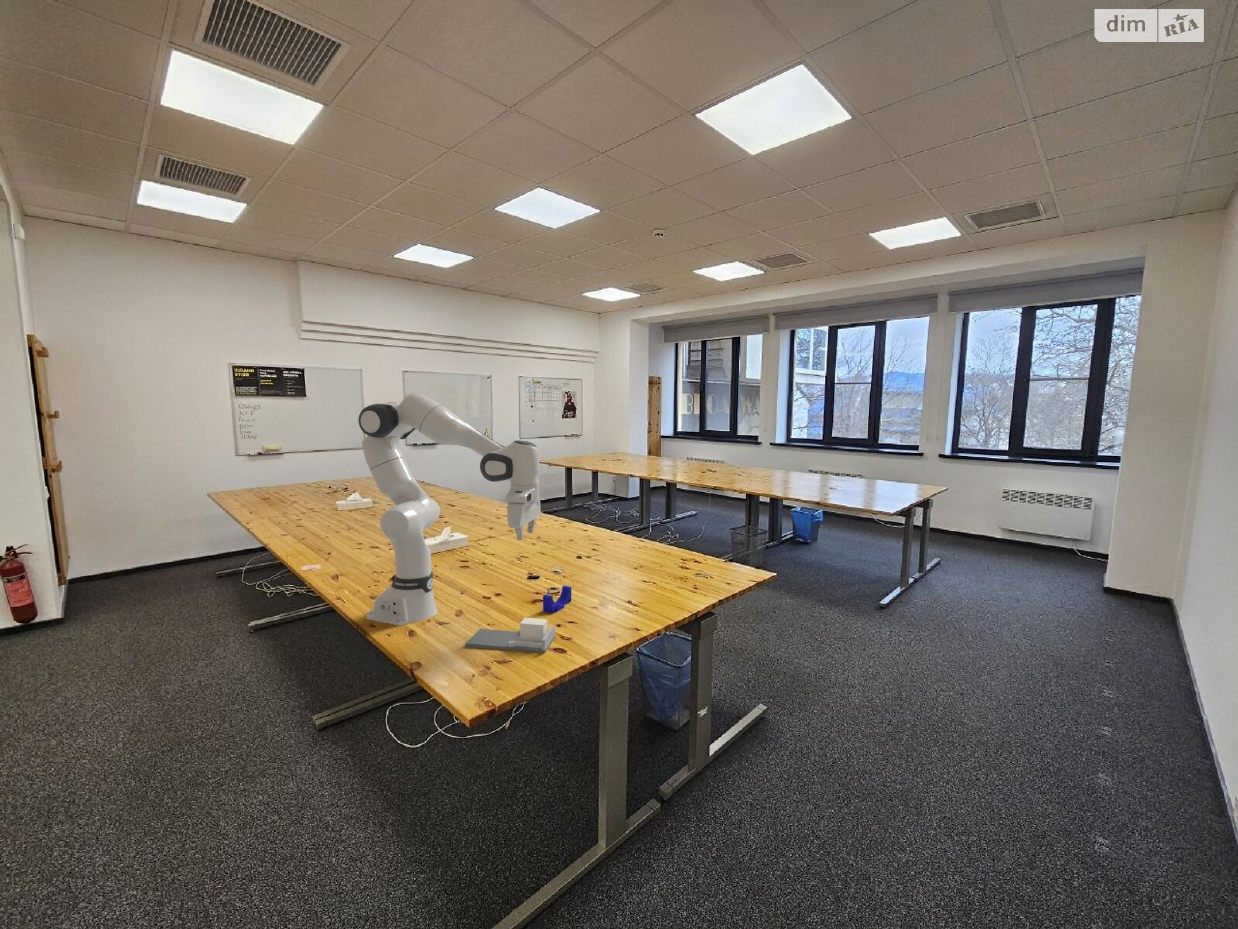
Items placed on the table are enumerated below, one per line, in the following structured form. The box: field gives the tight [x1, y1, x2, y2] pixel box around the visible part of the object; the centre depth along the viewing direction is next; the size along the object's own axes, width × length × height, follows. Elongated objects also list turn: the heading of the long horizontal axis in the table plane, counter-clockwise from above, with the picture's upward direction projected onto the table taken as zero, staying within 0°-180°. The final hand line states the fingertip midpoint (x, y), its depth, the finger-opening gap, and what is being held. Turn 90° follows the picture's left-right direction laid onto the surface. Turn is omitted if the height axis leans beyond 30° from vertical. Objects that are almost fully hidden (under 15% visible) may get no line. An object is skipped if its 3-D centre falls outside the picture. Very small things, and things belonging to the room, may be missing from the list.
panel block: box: [519, 617, 549, 643], centre depth 147 cm, size 7×4×6 cm, turn 81°
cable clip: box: [542, 585, 572, 615], centre depth 175 cm, size 12×4×6 cm, turn 148°
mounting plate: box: [464, 625, 556, 654], centre depth 148 cm, size 24×10×4 cm, turn 81°
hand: (525, 536), depth 158 cm, fingers open, 8 cm apart
